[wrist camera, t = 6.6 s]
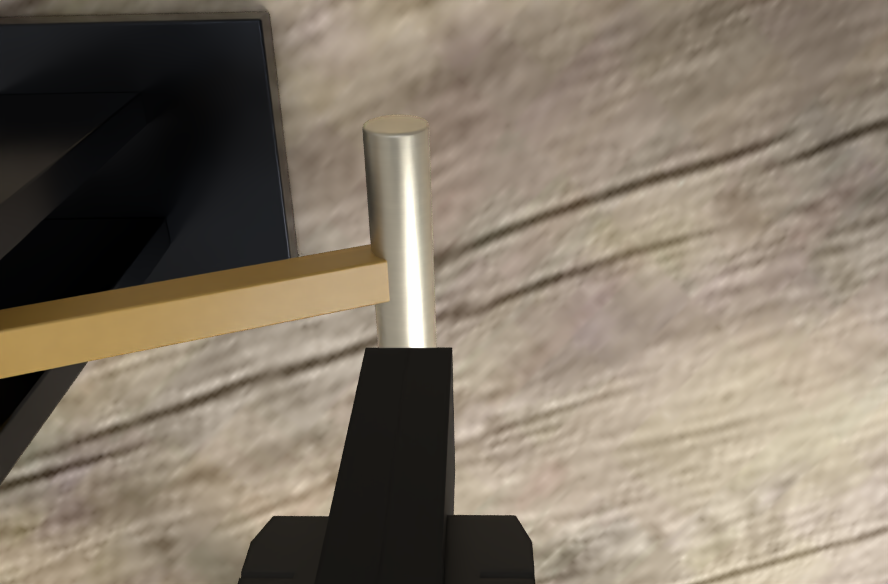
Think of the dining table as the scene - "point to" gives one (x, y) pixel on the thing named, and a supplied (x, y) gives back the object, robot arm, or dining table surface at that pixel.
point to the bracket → (131, 166)
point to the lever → (264, 280)
